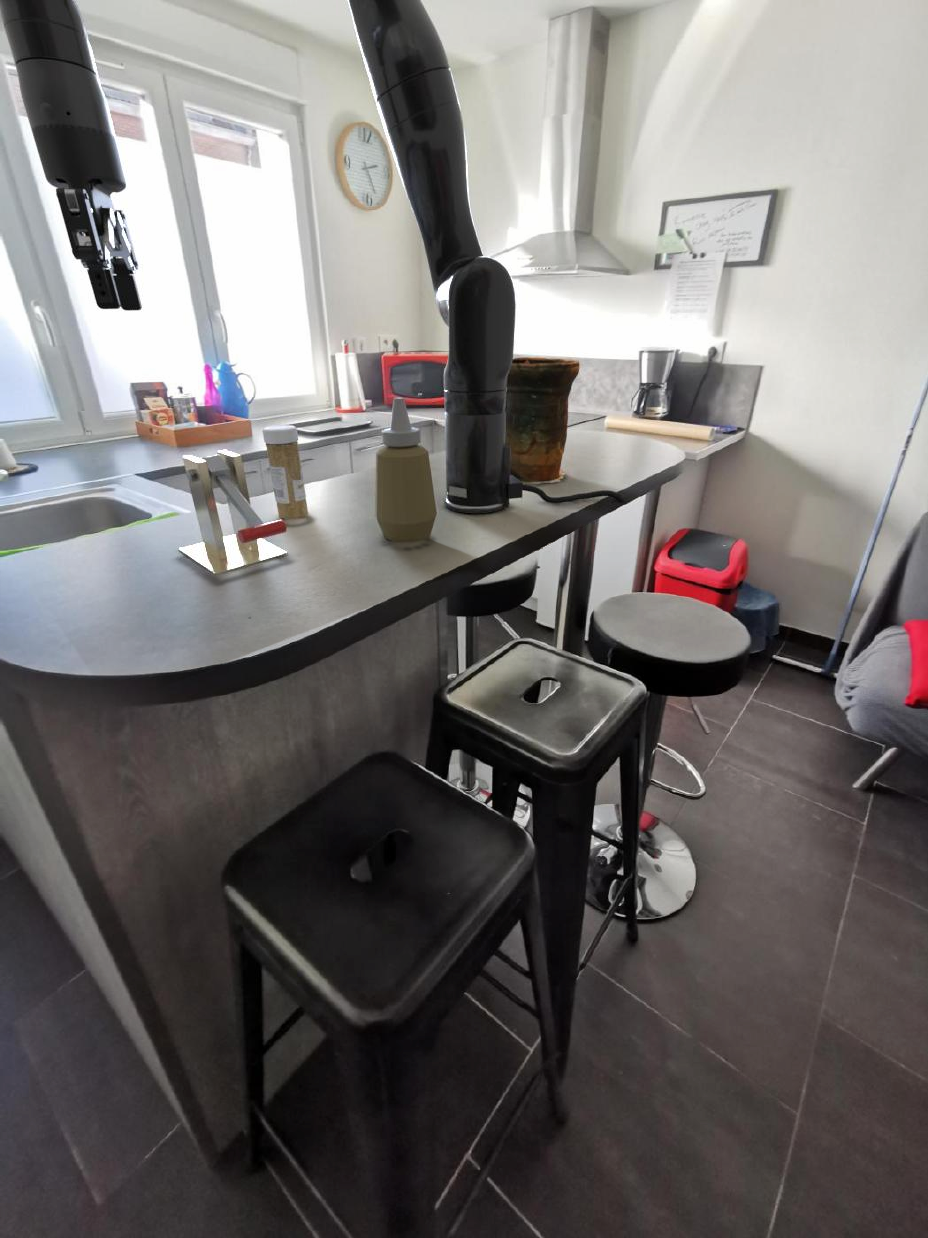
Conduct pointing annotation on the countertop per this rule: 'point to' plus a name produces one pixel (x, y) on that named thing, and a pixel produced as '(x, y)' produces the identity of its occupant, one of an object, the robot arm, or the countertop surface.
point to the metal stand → (215, 548)
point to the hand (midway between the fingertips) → (121, 309)
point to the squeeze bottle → (403, 481)
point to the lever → (241, 503)
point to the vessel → (538, 417)
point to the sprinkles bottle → (286, 470)
